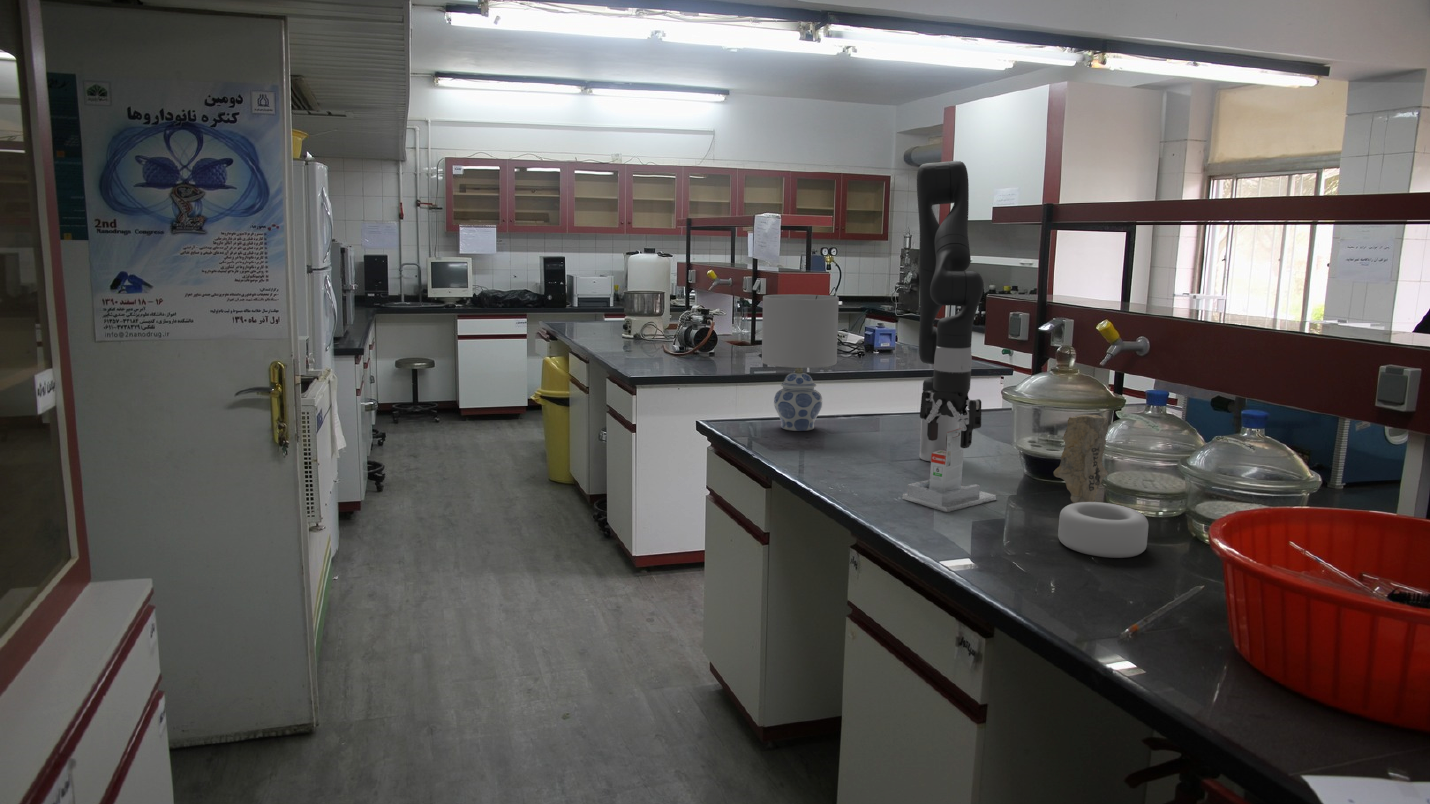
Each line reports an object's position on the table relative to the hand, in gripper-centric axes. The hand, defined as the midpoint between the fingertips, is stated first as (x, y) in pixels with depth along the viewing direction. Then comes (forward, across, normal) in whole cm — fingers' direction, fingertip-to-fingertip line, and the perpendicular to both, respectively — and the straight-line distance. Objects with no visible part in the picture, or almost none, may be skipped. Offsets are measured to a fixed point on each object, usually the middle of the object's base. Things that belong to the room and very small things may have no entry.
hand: (948, 443), depth 198 cm
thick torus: (+12, -36, 0) cm, 38 cm away
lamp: (+14, +75, -24) cm, 80 cm away
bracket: (+12, 0, -1) cm, 12 cm away
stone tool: (+13, -20, -18) cm, 30 cm away
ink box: (+12, 0, 0) cm, 12 cm away
